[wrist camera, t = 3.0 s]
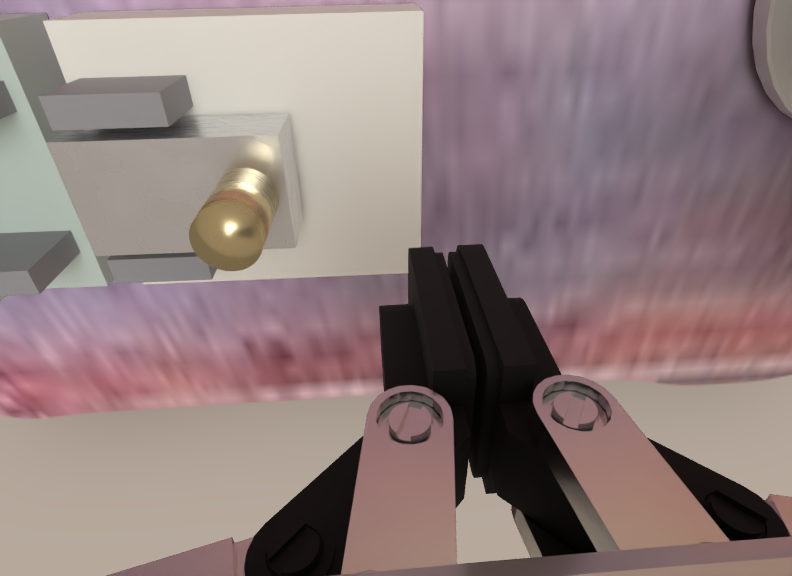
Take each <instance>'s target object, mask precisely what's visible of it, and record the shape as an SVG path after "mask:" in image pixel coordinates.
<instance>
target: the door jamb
mask: <svg viewBox="0 0 792 576" xmlns="http://www.w3.org/2000/svg"><path fill="white" fill-rule="evenodd" d="M44 20H49V19H48V16H47V13H22V14H0V302H1V301H2V300H3V299H4V298H5V297H6V296H10V295H34V294H40V293H41V292H42V291H43V290H44V289H45V288H69V287H93V286H108V285H109V284H110V282H111V281H112V280H113V279H114V277H113V274H112V272H111V269H110V267H109V265H108V262H107V259H108V258H109V257H110V256H95V254H94V252H93V250H92V247H91V245H90V243H89V241H88V238H87V236H86V234H85V231H84V229H83V227H82V224H81V222H80V220H79V217H78V215H77V213H76V210H75V208H74V206H73V204H72V201H71V199H70V197H69V194H68V192H67V190H66V187H65V185H64V183H63V180H62V178H61V176H60V173H59V171H58V169H57V166H56V164H55V162H54V160H53V157H52V155H51V153H50V150H49V148H48V146H47V142H48V141H50V140H52V139H53V138H55V137H57V136H59V135H60V134H62V133H64V132H66V131H67V130H54V131H52V129H51V126H50V124H49V121H48V119H47V117H46V114H45V112H44V109H43V107H42V105H41V102H40V100H39V98H38V96H39V95H41V94H44V93H46V92H48V91H51V90H53V89H56V88H58V87H60V86H63V85H65V84H67V83H66V81H65V78H64V76H63V73H62V70H61V68H60V65H59V62H58V60H57V57H56V55H55V52H54V49H53V47H52V44H51V41H50V39H49V36H48V34H47V31H46V28H45V26H44V23H43V21H44Z"/></svg>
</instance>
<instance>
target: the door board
mask: <svg viewBox="0 0 792 576" xmlns="http://www.w3.org/2000/svg"><path fill="white" fill-rule="evenodd" d="M423 12H424V11H423V10H422V9H421V8H420V7H419V6H418V5H417V4H416V3H407V4H368V5H330V6H291V7H253V8H214V9H176V10H137V11H99V12H85V13H79V14H74V15H69V16H64V17H59V18H54V19H49V20H44V21H43V23H44V26H45V28H46V31H47V34H48V36H49V39H50V41H51V44H52V47H53V49H54V52H55V55H56V57H57V60H58V62H59V65H60V68H61V70H62V73H63V76H64V78H65V81H66V83H67V84H65V85H63V86H60V87H58V88H56V89H53V90H51V91H48V92H46V93H44V94H41V95H39V96H38V98H39V100H40V102H41V105H42V107H43V109H44V112H45V114H46V117H47V119H48V121H49V124H50V126H51V129H52V131H54V130H84V129H115V128H145V127H169V126H170V125H172V124H173V123H174V122H175V121H176V120H177V119H179V118H180V117H187V116H218V115H249V114H280V113H289V116H290V123H291V130H292V137H293V144H294V151H295V159H296V166H297V173H298V180H299V187H300V194H301V201H302V208H303V216H304V218H303V222H302V226H301V230H300V234H299V238H298V242H297V246H296V248H286V249H263V250H262V253H261V255H260V257H259V259H258V260H257V261H256V262H255V263H254V264H253V265H252V266H250V267H248V268H246V269H244V270H240V271H224V270H220V269H217V268H214V267H212V266H210V265H208V264H206V263H205V262H204V261H202V260H201V259H200V258H199V257H198V256H197V255H196V253H195V252H187V253H162V254H137V255H113V256H110V257H109V258H108V259H107V262H108V265H109V267H110V269H111V272H112V274H113V277H114V279H115V281H116V284H117V283H141V282H142V283H143V284H164V283H188V282H212V281H235V280H259V279H283V278H307V277H330V276H354V275H378V274H402V273H408V249H409V248H419V247H421V185H422V98H423Z"/></svg>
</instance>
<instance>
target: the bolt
mask: <svg viewBox="0 0 792 576" xmlns="http://www.w3.org/2000/svg"><path fill="white" fill-rule="evenodd" d="M47 146H48V148H49V150H50V153H51V155H52V157H53V160H54V162H55V164H56V166H57V169H58V171H59V173H60V176H61V178H62V180H63V183H64V185H65V187H66V190H67V192H68V194H69V197H70V199H71V201H72V204H73V206H74V208H75V210H76V213H77V215H78V217H79V220H80V222H81V224H82V227H83V229H84V231H85V234H86V236H87V238H88V241H89V243H90V245H91V247H92V250H93V252H94V254H95V256H113V255H137V254H162V253H187V252H195V253H196V255H197V256H198V257H199V258H200V259H201V260H202V261H204V262H205V263H206V264H208V265H210V266H212V267H214V268H217V269H220V270H224V271H240V270H244V269H246V268H248V267H250V266H252V265H253V264H254V263H255V262H256V261H257V260H258V259H259V257H260V255H261V253H262V250H263V249H286V248H296V246H297V242H298V238H299V234H300V230H301V226H302V222H303V218H304V216H303V208H302V201H301V194H300V187H299V180H298V173H297V166H296V159H295V151H294V144H293V137H292V130H291V123H290V116H289V113H280V114H249V115H218V116H187V117H180V118H179V119H177V120H176V121H175V122H174V123H173V124H172V125H170V126H169V127H145V128H115V129H84V130H67V131H66V132H64V133H62V134H60V135H59V136H57V137H55V138H53V139H52V140H50V141H48V142H47Z"/></svg>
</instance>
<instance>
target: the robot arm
mask: <svg viewBox="0 0 792 576" xmlns="http://www.w3.org/2000/svg"><path fill="white" fill-rule="evenodd" d="M752 45H753V52H754V59H755V65H756V71H757V73H758V76H759V78H760V81H761V83H762V85H763V88H764V90H765V92H766V94H767V95H768V97H769V98H770V99H771V100H772V101H773V103H774V104H775V105H776V106H777V108H778V109H779V110H780V111H781V112H783V113H784V114H786V115H787V116H789V117H790V118H792V0H756V3H755V7H754V17H753V35H752ZM379 314H380V334H381V353H382V368H383V383H384V392H383V393H382V394H380V395H379V396H377V398H376V399H375V400H374V401H373V402H372V404H371V405H370V408H369V411H368V414H367V418H366V424H365V430H364V436H362V437H361V438H360V439H359V440H358V441H357V442H356V443H355V444H354V445H352V446H351V447H350V448H349V449H348V450H347V451H346V452H345V453H343V454H342V455H341V456H340V457H339V458H338V459H337V460H336V461H335V462H333V463H332V464H331V465H330V466H329V467H328V468H327V469H326V470H324V471H323V472H322V473H321V474H320V475H319V476H318V477H317V478H316V479H315V480H313V481H312V482H311V483H310V484H309V485H308V486H307V487H306V488H304V489H303V490H302V491H301V492H300V493H299V494H298V495H297V496H296V497H294V498H293V499H292V500H291V501H290V502H289V503H288V504H287V505H285V506H284V507H283V508H282V509H281V510H280V511H279V512H278V513H277V514H275V515H274V516H273V517H272V518H271V519H270V520H269V521H268V522H266V523H265V524H264V526H263V527H262V528H261V529H260V530H259V531H258V532H257V534H256V535H255V536H254V537H253V538H249V539H246V540H243V541H240V542H236V543H234V541H233V538H232V537H231V538H228V539H225V540H221V541H218V542H215V543H212V544H209V545H205V546H202V547H199V548H195V549H192V550H189V551H186V552H182V553H179V554H176V555H173V556H169V557H166V558H163V559H159V560H156V561H153V562H150V563H146V564H143V565H140V566H136V567H133V568H130V569H127V570H124V571H120V572H117V573H114V574H110V575H107V576H792V497H788V496H780V495H773V494H770V495H769V496H768V498H767V499H766V500H763V499H762V498H761V497H759V496H758V495H757V494H755V493H753V492H752V491H750V490H748V489H747V488H745V487H744V486H742V485H740V484H738V483H736V482H734V481H732V480H730V479H728V478H726V477H724V476H722V475H720V474H718V473H716V472H714V471H712V470H710V469H708V468H706V467H704V466H702V465H700V464H698V463H696V462H694V461H692V460H690V459H689V458H687V457H684V456H683V455H680V454H679V453H676V452H674V451H673V450H671V449H669V448H667V447H665V446H663V445H661V444H659V443H657V442H655V441H653V440H651V439H649V438H646V436H645V435H644V434H643V432H642V431H641V430H640V429H639V427H638V426H637V425H636V424H635V422H634V421H633V420H632V419H631V417H630V416H629V415H628V414H627V413H626V411H625V410H624V409H623V408H622V406H621V405H620V404H619V403H618V401H617V400H616V399H615V398H614V397H613V396H612V395H611V394H610V393H609V392H608V391H607V390H606V389H605V388H603V387H602V386H600V385H598V384H597V383H595V382H594V381H591V380H588V379H585V378H583V377H579V376H572V375H561V373H560V371H559V369H558V367H557V365H556V363H555V361H554V359H553V357H552V355H551V353H550V351H549V349H548V347H547V345H546V343H545V341H544V339H543V337H542V335H541V333H540V331H539V329H538V327H537V325H536V323H535V321H534V319H533V317H532V315H531V313H530V311H529V309H528V307H527V305H526V303H525V302H524V300H523V299H522V298H507V296H506V294H505V292H504V290H503V287H502V285H501V283H500V281H499V279H498V276H497V274H496V272H495V270H494V268H493V265H492V263H491V261H490V259H489V257H488V254H487V252H486V250H485V248H484V246H483V244H476V245H458V246H457V250H456V252H449V254H448V267H447V266H446V262H445V259H444V256H443V253H435V252H434V249H433V247H419V248H409V249H408V304H404V305H386V306H379ZM468 459H469V463H470V467H471V471H472V475H473V477H474V478H478V477H482V479H483V483H484V487H485V492H486V494H489V493H497V495H498V496H499V497H501V498H502V499H503V500H505V501H506V502H508V503H510V504H511V505H512V509H511V511H512V514H513V518H514V521H515V523H516V526H517V528H518V530H519V532H520V535H521V537H522V539H523V541H524V544H525V546H526V548H527V550H528V552H529V555H530V557H531V558H524V559H512V560H501V561H488V562H477V563H466V564H457V545H456V507H457V506H458V505H459V504H460V502H461V501H462V500H463V499H464V494H465V484H466V477H467V468H468Z"/></svg>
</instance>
